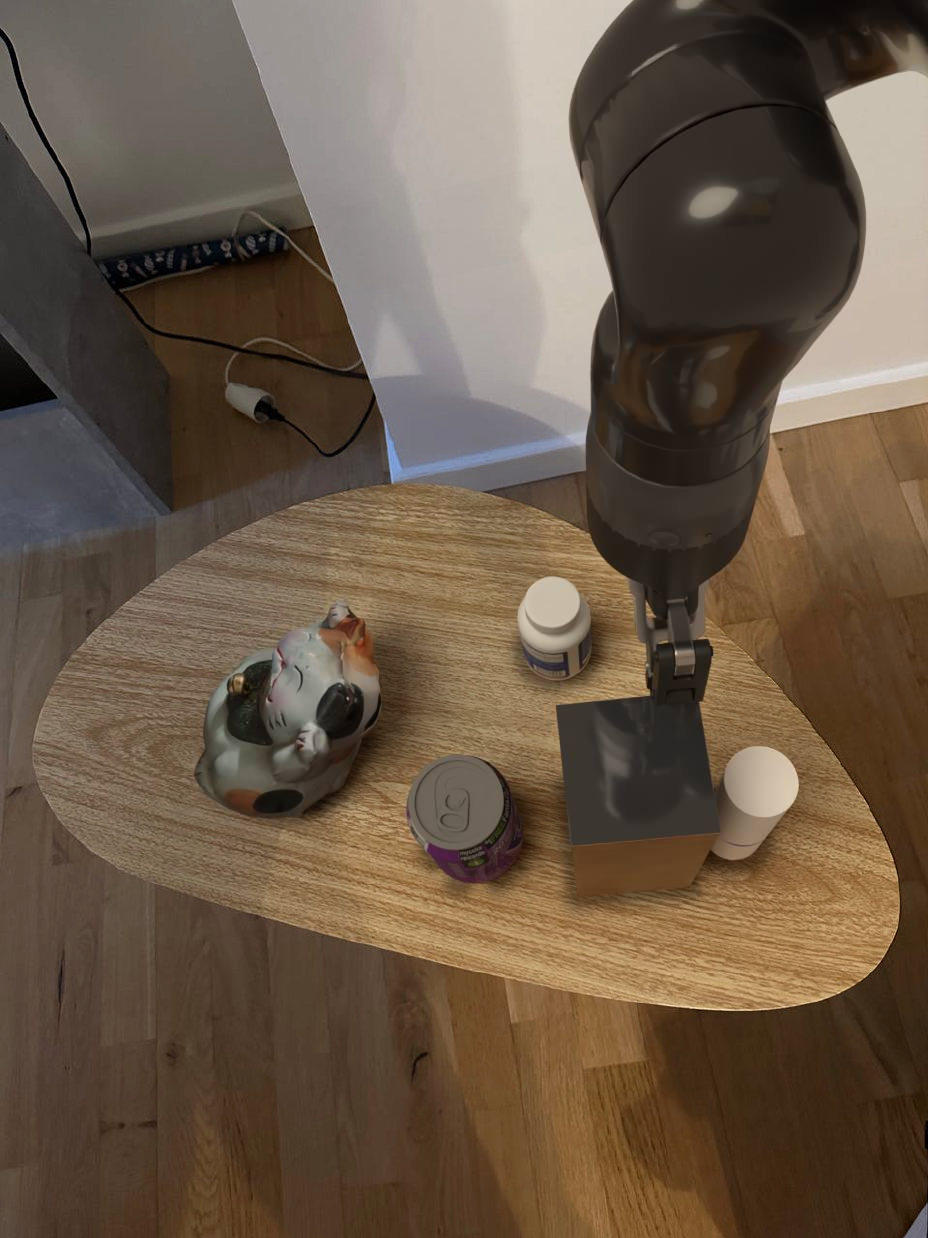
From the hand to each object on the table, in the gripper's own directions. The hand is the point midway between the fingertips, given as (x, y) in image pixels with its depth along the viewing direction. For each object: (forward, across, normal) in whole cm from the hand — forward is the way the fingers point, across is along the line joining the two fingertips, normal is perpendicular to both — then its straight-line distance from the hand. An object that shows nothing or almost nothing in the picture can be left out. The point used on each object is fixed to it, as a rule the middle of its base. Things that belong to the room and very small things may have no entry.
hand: (654, 612), depth 60 cm
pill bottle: (+21, +6, +6) cm, 23 cm away
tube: (+21, -9, -5) cm, 24 cm away
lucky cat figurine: (+21, +2, +26) cm, 34 cm away
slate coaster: (+1, -9, +2) cm, 9 cm away
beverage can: (+21, -8, +13) cm, 26 cm away
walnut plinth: (+21, -9, +2) cm, 23 cm away
